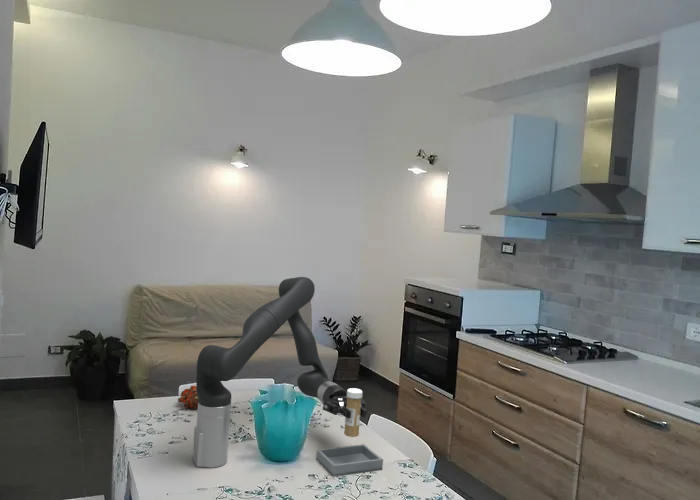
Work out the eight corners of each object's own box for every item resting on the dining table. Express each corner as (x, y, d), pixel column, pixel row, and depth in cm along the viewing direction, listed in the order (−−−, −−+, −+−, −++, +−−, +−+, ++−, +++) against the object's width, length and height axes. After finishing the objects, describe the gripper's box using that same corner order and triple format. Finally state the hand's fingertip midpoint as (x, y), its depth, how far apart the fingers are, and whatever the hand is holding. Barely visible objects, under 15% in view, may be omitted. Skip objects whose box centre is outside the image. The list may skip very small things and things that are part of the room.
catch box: (332, 476, 163) (333, 466, 163) (316, 459, 174) (316, 449, 174) (382, 469, 171) (383, 459, 170) (363, 453, 181) (364, 444, 181)
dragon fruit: (201, 417, 207) (181, 413, 214) (216, 399, 213) (196, 395, 220) (189, 400, 203) (168, 396, 211) (204, 382, 209) (184, 379, 216)
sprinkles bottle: (361, 436, 172) (365, 391, 171) (349, 438, 169) (352, 393, 168) (353, 430, 175) (356, 387, 175) (340, 432, 173) (344, 388, 172)
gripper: (313, 386, 181) (336, 403, 166) (353, 383, 188) (379, 400, 172) (311, 409, 182) (334, 429, 166) (352, 406, 188) (377, 425, 173)
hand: (357, 414), depth 169 cm, fingers closed on sprinkles bottle, 4 cm apart
